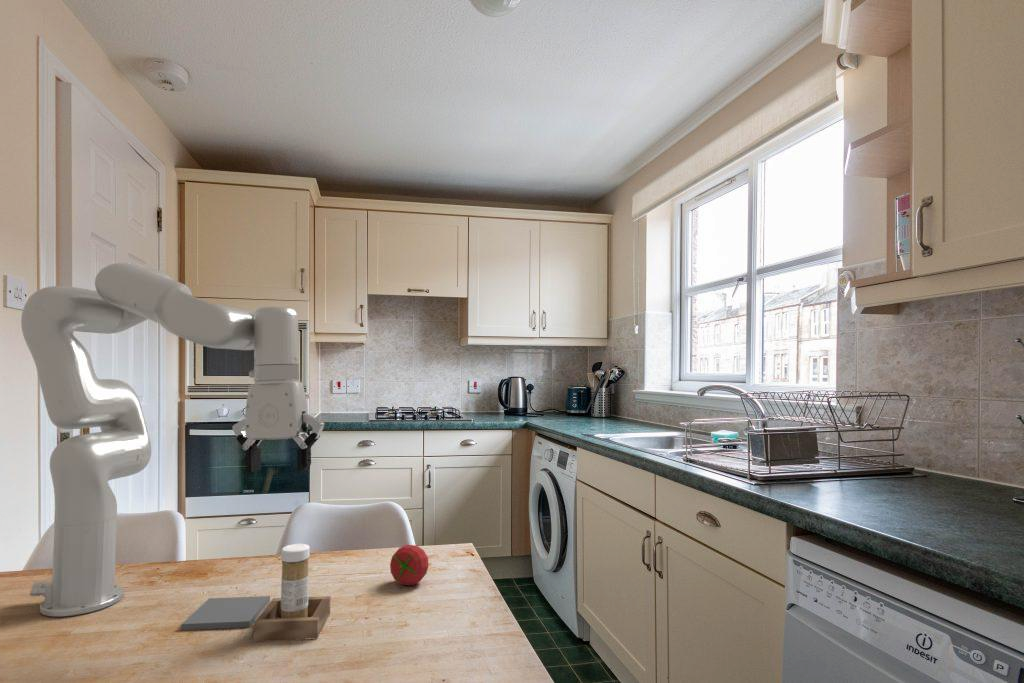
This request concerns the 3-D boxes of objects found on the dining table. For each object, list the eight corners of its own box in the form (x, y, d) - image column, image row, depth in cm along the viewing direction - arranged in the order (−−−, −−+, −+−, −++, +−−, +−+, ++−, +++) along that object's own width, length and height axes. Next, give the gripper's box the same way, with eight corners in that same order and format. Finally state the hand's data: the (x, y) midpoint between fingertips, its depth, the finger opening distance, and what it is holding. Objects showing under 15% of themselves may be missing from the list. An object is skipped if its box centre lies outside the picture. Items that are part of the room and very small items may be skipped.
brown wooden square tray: (253, 641, 92) (254, 622, 93) (272, 615, 102) (273, 598, 102) (317, 638, 93) (317, 619, 94) (330, 613, 103) (330, 596, 104)
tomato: (416, 535, 123) (400, 537, 116) (441, 561, 120) (425, 566, 113) (392, 563, 123) (374, 568, 116) (416, 591, 120) (399, 597, 113)
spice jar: (302, 618, 101) (304, 541, 102) (312, 627, 98) (313, 547, 98) (276, 625, 98) (277, 546, 99) (284, 635, 95) (286, 552, 95)
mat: (181, 630, 96) (181, 624, 97) (208, 603, 107) (209, 598, 107) (249, 627, 98) (249, 621, 98) (269, 601, 109) (269, 596, 109)
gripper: (220, 377, 101) (221, 475, 100) (311, 373, 98) (313, 474, 97) (246, 377, 109) (247, 468, 108) (331, 373, 106) (333, 467, 105)
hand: (278, 471), depth 103 cm, fingers open, 9 cm apart
